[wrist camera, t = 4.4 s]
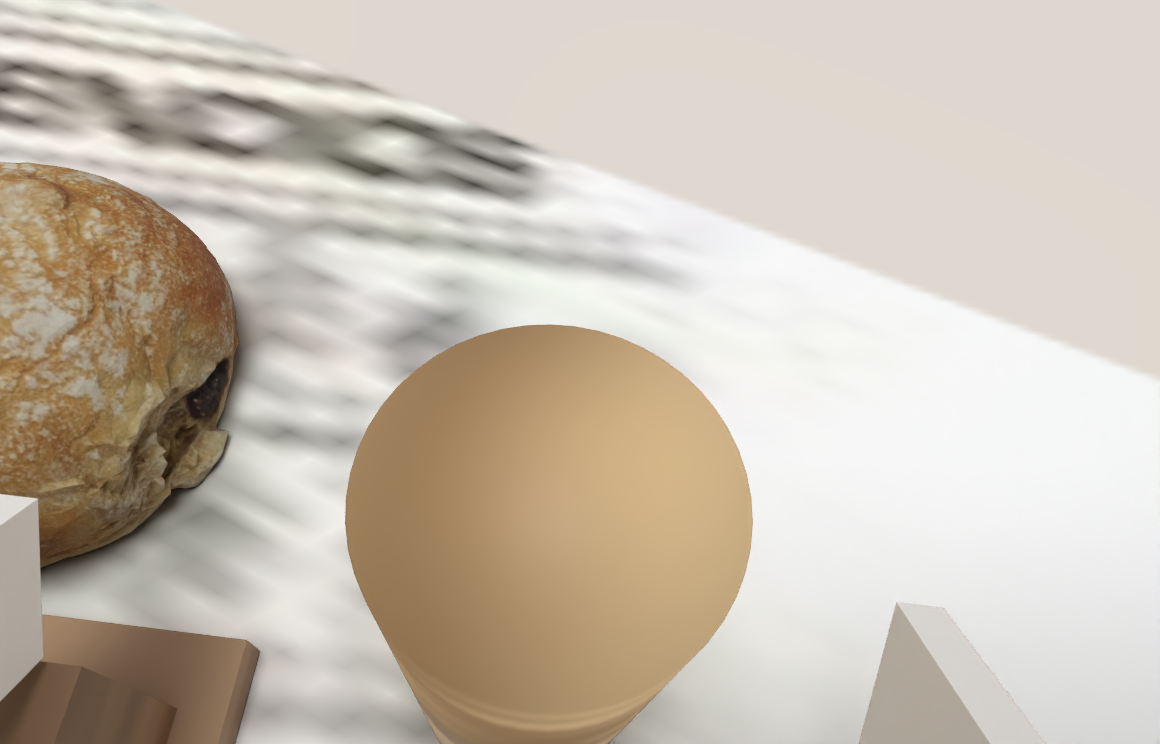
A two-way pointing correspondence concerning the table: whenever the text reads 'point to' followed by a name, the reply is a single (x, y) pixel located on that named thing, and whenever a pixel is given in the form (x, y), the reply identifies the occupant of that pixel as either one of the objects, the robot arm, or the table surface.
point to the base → (129, 687)
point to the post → (546, 532)
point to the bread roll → (105, 354)
